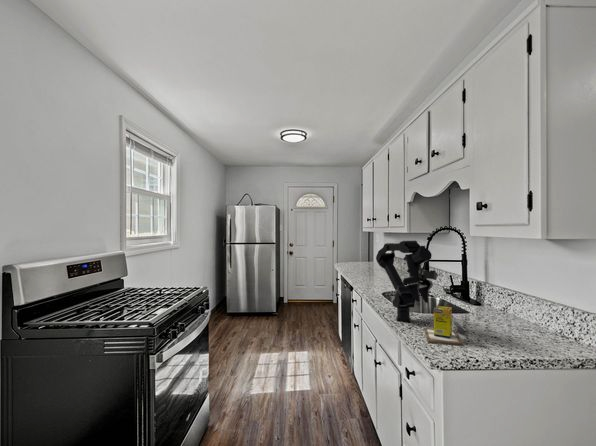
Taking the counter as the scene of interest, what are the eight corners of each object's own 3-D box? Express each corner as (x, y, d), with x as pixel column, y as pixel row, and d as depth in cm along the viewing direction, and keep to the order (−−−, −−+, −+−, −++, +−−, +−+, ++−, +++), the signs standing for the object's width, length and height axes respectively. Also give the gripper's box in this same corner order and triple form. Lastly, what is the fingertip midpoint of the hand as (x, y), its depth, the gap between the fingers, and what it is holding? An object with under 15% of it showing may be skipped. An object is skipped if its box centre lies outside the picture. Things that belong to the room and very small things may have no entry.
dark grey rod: (459, 325, 146) (455, 326, 146) (457, 321, 146) (453, 322, 147) (465, 334, 133) (460, 335, 134) (463, 330, 134) (459, 331, 134)
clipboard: (424, 330, 139) (424, 326, 139) (454, 332, 136) (454, 328, 136) (427, 342, 124) (427, 338, 124) (462, 345, 121) (462, 341, 121)
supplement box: (450, 338, 125) (449, 310, 126) (433, 336, 129) (433, 308, 129) (452, 334, 130) (452, 307, 131) (436, 332, 134) (436, 305, 134)
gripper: (423, 259, 135) (433, 297, 129) (439, 265, 148) (449, 300, 142) (398, 266, 141) (406, 302, 135) (416, 271, 155) (424, 304, 149)
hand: (422, 302), depth 140 cm, fingers open, 9 cm apart
